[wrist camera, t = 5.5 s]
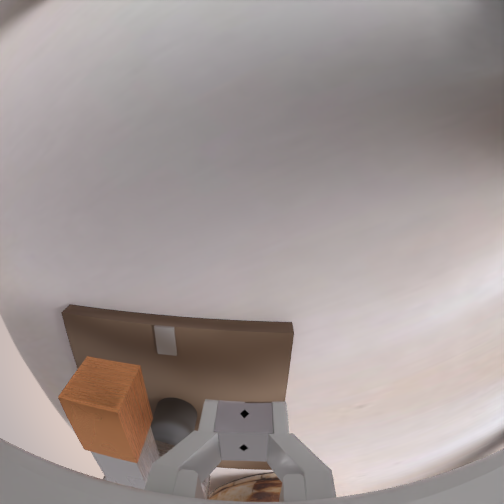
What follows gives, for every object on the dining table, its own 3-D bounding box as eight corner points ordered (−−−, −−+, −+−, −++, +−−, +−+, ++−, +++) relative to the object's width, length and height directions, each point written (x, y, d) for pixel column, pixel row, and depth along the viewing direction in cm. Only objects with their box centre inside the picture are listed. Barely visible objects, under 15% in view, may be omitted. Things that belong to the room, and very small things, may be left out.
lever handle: (212, 492, 16) (206, 542, 12) (128, 478, 16) (113, 523, 12) (197, 344, 12) (174, 422, 8) (69, 328, 12) (20, 384, 8)
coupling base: (70, 304, 19) (22, 351, 13) (291, 322, 18) (303, 389, 13) (114, 440, 23) (94, 486, 18) (272, 459, 23) (274, 513, 17)
